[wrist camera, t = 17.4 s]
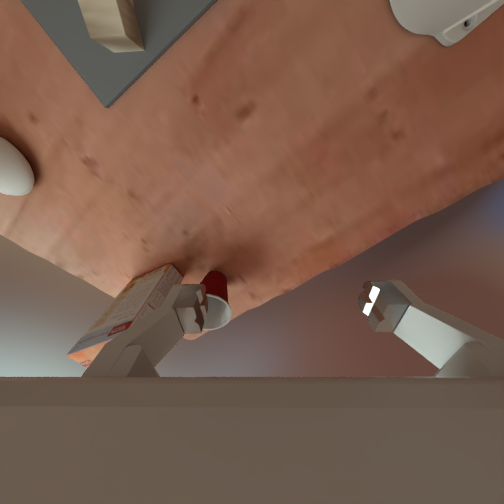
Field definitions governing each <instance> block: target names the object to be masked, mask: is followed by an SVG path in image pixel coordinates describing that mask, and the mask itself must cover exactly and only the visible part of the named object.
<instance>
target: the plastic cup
mask: <svg viewBox="0 0 504 504" xmlns="http://www.w3.org/2000/svg"><path fill="white" fill-rule="evenodd" d="M200 284H204V285H205V288H206V291H205V295H207V297H208V311H207V314H206V315H205V316H204V321H205V322H204V325H203V329H202V330H215V329H218V328H221V327H223V326H224V325H226V324H227V323H228V322H229V321H230V319H231V317H232V312H231V307H230V306H229V303H228V294H227V280H226V277H225V276H224V275H223V274H222V273H220V272H217V271H212V272H209V273H208V274H207V275H206V276H205V277H204V279H203V280H202V282H201V283H200Z"/></svg>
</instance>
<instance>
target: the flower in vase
mask: <svg viewBox="0 0 504 504" xmlns="http://www.w3.org/2000/svg"><path fill="white" fill-rule="evenodd" d="M33 186H34V174H33V171H32V169H31V167H30V165H29V163H28V161H27V160H26V159H25V157H24V156H23V155H22V154H21V153H20V151H19V150H18V149H17V148H15V147H14V146H13V145H12V144H11V143H9V142H8V141H7V140H5V139H4V138H2V137H0V193H3V194H7V195H16V196H21V195H25V194H28V193H29V192H30V191H31V190H32V188H33Z"/></svg>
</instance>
